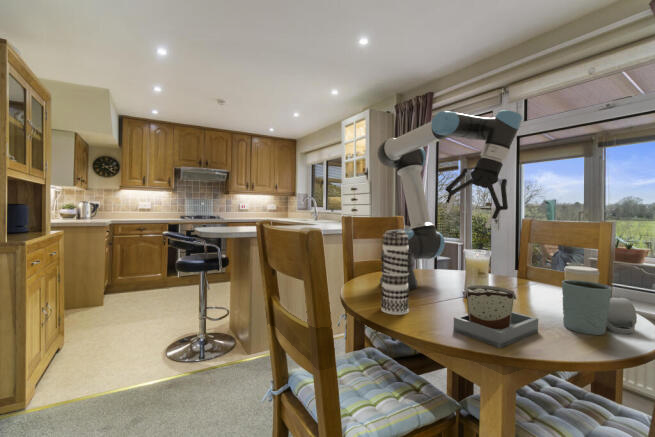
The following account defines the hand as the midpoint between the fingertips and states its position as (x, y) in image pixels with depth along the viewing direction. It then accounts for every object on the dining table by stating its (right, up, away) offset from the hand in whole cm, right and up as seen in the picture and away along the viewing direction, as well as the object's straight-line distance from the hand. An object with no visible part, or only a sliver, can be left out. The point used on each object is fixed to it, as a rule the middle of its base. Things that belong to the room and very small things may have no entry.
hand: (466, 219), depth 105 cm
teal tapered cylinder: (+21, -29, -24) cm, 43 cm away
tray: (-4, -29, -26) cm, 39 cm away
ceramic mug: (+30, -29, -22) cm, 47 cm away
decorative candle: (-27, -28, -9) cm, 40 cm away
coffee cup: (+39, -29, -1) cm, 48 cm away
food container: (-6, -28, -24) cm, 38 cm away
